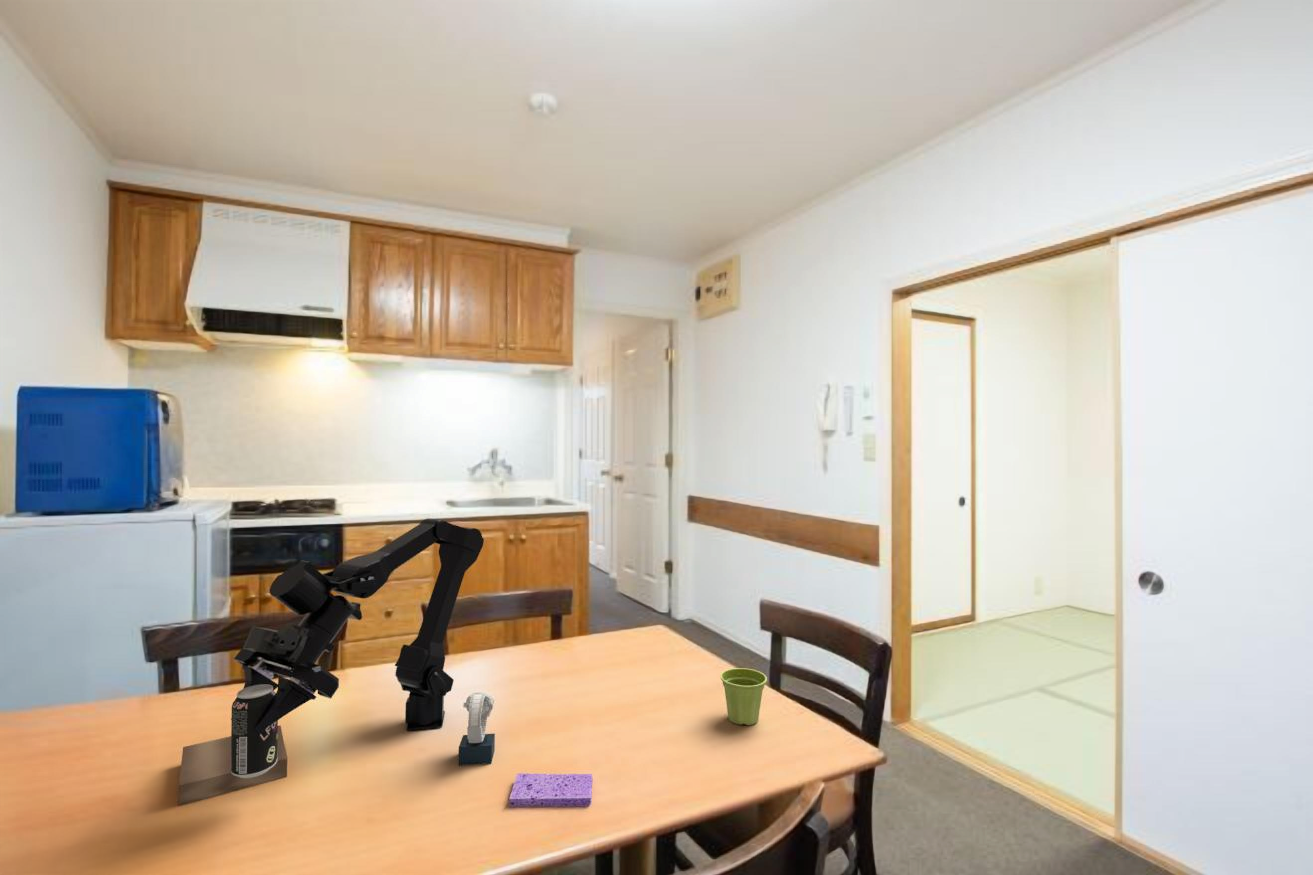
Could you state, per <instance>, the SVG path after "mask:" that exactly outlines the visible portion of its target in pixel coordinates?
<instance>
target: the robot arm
mask: <svg viewBox="0 0 1313 875" xmlns="http://www.w3.org/2000/svg"><path fill="white" fill-rule="evenodd" d="M484 541H485V540H484V537H483V535H482V532H481V531H480V529H478V528H474V527H466V526H459V525H456V524H452V523H450V522H448V521H446V520H444V519H437V518H425V519H423V520H422V521H420V523H419V524H417V525H416V526H414V527H413V528H412V529H410V530H408V531H407V532H404V533H403V534H402V535H400V536H398V537H396V538H395V539H393V540H392V541H390V542H389V543H387V544H385V545H384V546H381V547H380V548H379V549H378V550H375V551H373V552H370V553H367V554H362V555H357V556H355V557H353V558H349V559H347V560H345V561H342V562H340V563H339V564H337V566H335V567H334V568H333V569H332V570H330V571H327V572H324V573H321V572H320V571H319V570H318V569H317V567H316V566H315V565H314V564H313V563H312V562H311V561H307V560H300V561H299V562H298V563H297V564H296V565H295V566H292V567H289V568H287V570H285V571H284V572H282V573H281V574H279V575H277V576H276V577H275V579H274V580H273V581H272V583H271V585H270V586H269V595H271V597H273V598H274V599H276V600H277V601H278V602H280V603H281V604H282V605H284V606H285V608H288V609H289V611H290V610H291V611H292V612H293V613H294V614H295V615H297V616H304V615H305V616H304V617H303V619H302V620H301V621H300V622H299V624H298V625H297V624H291V625H289V626H283V625H282V626H281V627H280V628H279V629H278V630H277V629H271V628H267V627H266V628H265V627H261V626H259V627H258V626H254V625H253V626H252V627H251V629H250V632H249V634H248V636H247V638H246V641H245V643H244V645H243V647H242V648H241V649H240V650H239V651H238V653H237V654H236V655H235V657H233V660H234V661H235V662H237V663H238V664H240V665H242V666H241V670H242V671H243V673H244V677H245V683H244V685H243V688H242V689H244V688H247V687H250V686H254V685H261V684H269V685H272V686H273V691H274V692H275V693H276V694H275V695H274V697H273V698H272V700H271V701H270V703H269V705H268V706H267V708H266V709H265V711H264V712H263V714H262V716H261V717H260V719H259V720H258V722H257V723H256V725H255V727H254V730H256V731H258V732H261V731H263V730H264V729H266V728H267V727H269V726H270V725H271V724H273V723H274V722H276V721H277V720H278V721H279V720H280V719H282V718H283V717H284V716H287V714H289V713H290V712H292V711H293V712H294V710H296V709H298V708H299V707H301V706H302V705H304V704H306V703H307V702H309V701H311V700H313V701H315V700H316V698H317V696H316V695H315V693H316V692H317V694H318V695H319V696H321V697H325V698H328V699H330V700H331V699H332V698H333V697H334V695H335V693H336V692H337V690H338V689H339V688H340V678H339V677H337V676H336V675H334V674H333V673H331V672H330V671H328V670H327V669H325V667H323V666H321V665H320V664H317V662H318V660H320V658H321V656H322V655H323V654H324V652H327V653H331V652H332V651H333V650H334V648H335V646H334V645H333V644H332V641H333V640H334V639H335V638H336V636H337V635H338V633H339V632H340V630H341V629H342V628H343V626H344V625H345V623H346V622H347V621H348V619H352V620H357V621H361V620H362V618H363V616H362V615H363V614H362V610H361V605H362V604H361V603H360V602H355V601H352V602H350V601H349V600H348V599H347V598H345V597H344V596H346V597H347V596H348V597H352V598H359V599H364V600H365V599H368V598H371V597H372V596H373V595H375V594H376V593H377V592H378V591H379V590H380V589H381V588H383V586H384V585H385V584H386V583H387V582H388V580H389V578H390V576H391V574H392V573H393V572H394V571H395V570H396V569H398V568H400V567H401V566H402V565H404V564H405V563H407V562H409V561H410V560H411V559H414V557H416V556H417V555H419V554H420V553H422V552H423V551H425V550H426V549H428V548H429V547H431V546H432V545H433V544H436V545H439V547H438V557H439V561H440V569H439V572H438V574H437V578H436V580H435V582H434V587H433V589H432V592H431V595H430V598H429V602H428V604H427V607H426V609H425V612H424V616H423V619H422V621H421V622H422V623H421V624H420V628H419V631H418V634H417V636H416V638H414V639H413V641H412V642H411V643H410V644H406V643H405V644H403V645H402V647H401V649H400V653H399V655H398V656H399V657H398V659H397V661H396V662H395V664H394V666H395V667H396V668H395V674H394V675H395V677H396V680H397V682H398V683H399V684H400V686H401V689H402V691H405V692H409V694H408V697H407V698H406V701H405V710H404V711H405V714H404V715H405V718H404V719H405V720H404V721H405V724H407V725H406V731H408V732H409V731H417V730H426V729H436V728H437V729H438V728H442V727H443V724H444V719H445V715H446V712H445V705H444V704H445V697H446V696H447V693H450V692H451V691H452V689H453V684H454V680H455V679H453V677H452V676H450V675H449V674H448V673H447V672H445V670H444V667H445V662H446V655H445V651H444V645H443V644H444V640H445V635H446V633H447V629H448V626H449V623H450V620H451V617H452V614H453V611H454V607H455V604H456V601H457V598H458V595H459V592H460V589H461V587H462V582H463V579H464V576H465V574H466V572H467V570H469V568H471V567H472V565H473V564H474V563H475V562H476V561H477V560H478V558H479V555H480V553H481V551H482V548H483V546H484V543H485V542H484ZM331 592H335V593H336V594H337V595H334V594H333V593H331ZM338 594H339V595H338ZM275 678H278V679H277V682H275V681H273V680H274V679H275ZM276 690H277V691H276ZM231 719H232V717H230V720H231Z"/></svg>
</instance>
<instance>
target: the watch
mask: <svg viewBox="0 0 1313 875" xmlns="http://www.w3.org/2000/svg"><path fill="white" fill-rule="evenodd" d="M494 704H495V698H494V696H493V695H491V694H489V693H487V692H483V691H482V692H481V691H480V692H474V693H473V692H472V693H471V694H469V696H467V698H466V702H463V705H462V707H463V708H466V710H467V712H468V717H467V718H468V719H467V722H468V725H467V727H466V729H467V731H466V732H467V734H463V735H462V737H461V740H460V743H459V745H458V756H457V757H458V759H457V760H458V761H457V764H458V766H471V765H473V766H474V765H489V764H492V762H493V758H494V754H495V752H496V751H495V748H496V746H495V745H496V744H495V741H496V740H495V739H496V738H495V736H496V733H486V730H487V722H488V718H489V717H490V715H491V712H492V710H493V708H494Z"/></svg>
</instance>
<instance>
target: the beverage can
mask: <svg viewBox="0 0 1313 875" xmlns="http://www.w3.org/2000/svg"><path fill="white" fill-rule="evenodd" d="M243 688H244V687H243ZM243 688H242V689H241V690H239V691H238V692H237V693H236V698H235V699H234V700H233V702H232V705H231V718H232V719H231V718H230V721H231V722H230V723H231V724H230V725H231V727H230V728H231V733H230V734H231V773H232V774H233V775H234V776H238V777H241V778H251V777H256V776H259V775H261V774H263V773H265V772H267V771H268V770H269V769H270V768H272V767H273V766H274V765H275V764H276V762H277V751H278V726H279V725H278V723H279V722H278V721H279V720H277V721H276V722H274V723H273V724H271V725H270V726H269V727H267V728H266V729H264V730H263V731H261V732H258V731H256V730H254V727H255V725H256V723H257V722H258V720H259V719H260V717H261V716H262V714H263V712H264V711H265V709H266V708H267V706H268V705H269V703H270V701H271V700H272V698H273V697H274V695H275V694H276V691H275V690H274V691H273V686H272V685H269V684H261V685H254V686H250V687H247V688H244V689H243Z"/></svg>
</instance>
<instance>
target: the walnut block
mask: <svg viewBox="0 0 1313 875" xmlns="http://www.w3.org/2000/svg"><path fill="white" fill-rule="evenodd" d="M283 736H284V735H283V732H282V726H281V724H280V725H278V751H277V762H276V764H275V765H274V766H273V767H272V768H270V769H269V770H268V771H267V772H265V773H263V774H261V775H259V776H256V777H251V778H241V777H238V776H234V775H233V774H232V773H231V736H226V737H221V738H217V739H212V740H208V741H204V742H200V743H195V744H191V745H187V746H186V745H185V746H182V753H181V762H180V763H181V764H180V769H179V770H180V772H179V779H178V780H179V781H178V786H177V787H178V788H177V789H178V791H177V793H178V795H177V796H178V797H177V805H178V806H177V807H180V806H183V805H187V804H190V803H194V802H198V801H202V800H204V799H205V800H206V799H209V798H212V797H216V796H220V795H223V794H228V793H232V792H235V791H239V790H243V789H247V788H249V787H254V786H258V785H261V784H265V783H268V782H274V781H276V780H279V779H284V778H287V777H288V754H287V751H286V750H287V749H286V745H285V740H284V737H283Z"/></svg>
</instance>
